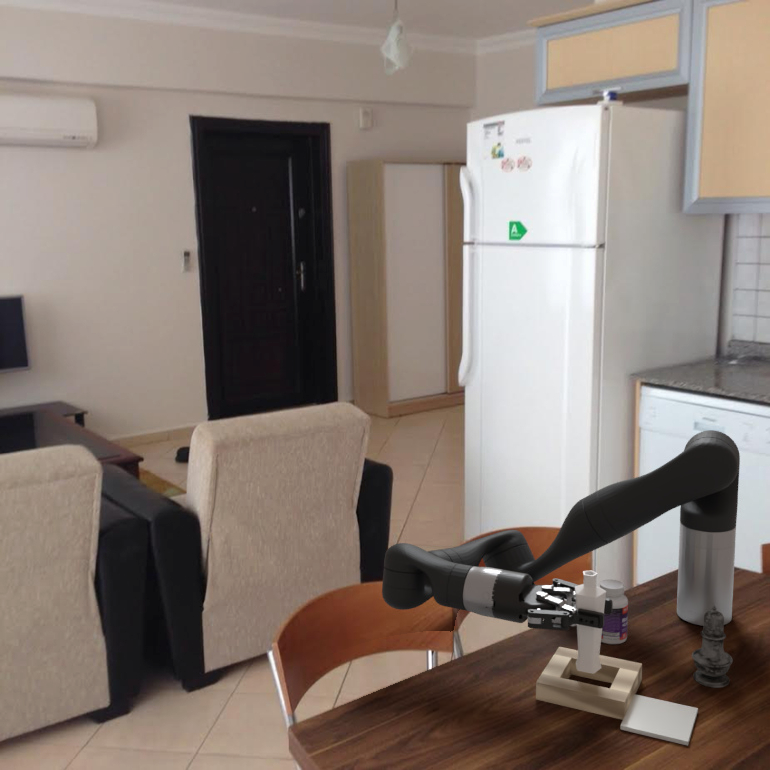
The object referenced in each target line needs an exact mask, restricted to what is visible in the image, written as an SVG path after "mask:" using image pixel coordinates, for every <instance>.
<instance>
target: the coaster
mask: <svg viewBox="0 0 770 770" xmlns="http://www.w3.org/2000/svg"><path fill="white" fill-rule="evenodd" d="M698 713H699V708H698V707H695V706H689V705H685V704H681V703H680V704H679V703H676V702H671V701H667V700H662V699H657V698H654V697H649V696H644V695H640V694H637V693H636V694H634V696H633V698H632V700H631V703H630V705H629V707H628V709H627V712H626V714H625V716H624V719H623V720H622V721H621V723H620V730H621V731H626V732H630V733H634V734H638V735H642V736H646V737H650V738H655V739H659V740H662V741H666V742H670V743H671V742H672V743H674V744H675V743H676V744H680V745H684V746H689V743H690V740H691V737H692V733H693V730H694V726H695V723H696V720H697V715H698Z"/></svg>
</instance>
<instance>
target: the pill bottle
mask: <svg viewBox="0 0 770 770" xmlns="http://www.w3.org/2000/svg"><path fill="white" fill-rule="evenodd" d="M599 587H600V588H602V589H603V590H605V591H606V597H605V598H608V599H611V600H612V602H613V608H612V612H611V614H604V626H603V628H602V636H601V643H603V644H608V645H619V644H623V643H624V642H626V641H627V638H628V621H629V619H628V618H629V599H628V597H627V596H626V595H625V594H624V593H625V583H624V582H622V581H621V580H618V579H604V580H601V581H600V583H599Z"/></svg>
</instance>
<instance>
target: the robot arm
mask: <svg viewBox="0 0 770 770" xmlns="http://www.w3.org/2000/svg"><path fill="white" fill-rule="evenodd" d="M740 457H741V455H740V452H739V448H738V446H737V443H735V441H734V440H733V439H732V438H731V437H730V436H729V435H727V434H725V433H724V432H722V431H719V430H711V429H710V430H703V431H700V432H698V433H696V434H694V435H693V436H692V437H691V438H690V439H689V440H688V441H687V443H686V445H685V447H684V449H683V451H682V452H681V453H679V454H678V455H677V456H675V457H673V458H672V459H670V460H669V461H667V462H666V463H664V464H663V465H661V466H660V467H658V468H656V469H654V470H652V471H651V472H648V473H645V474H643V475H640V476H636V477H633V478H629V479H625V480H621V481H617V482H615V483H612V484H609V485H607V486H604V487H603V488H600V489H598V490H596V491H595V492H593V493H591V494H588V495H587V496H585V497H583V498H581V499H579V501H577V502H576V503H575V504H574V505H573V506H572V507H571V509H570V510H569V512H568V514H567V515H566V517H565V518H564V520H563V522H562V525H561V527H560V528H559V530H558V533H557V534H556V536H555V538H554V540H553V541H552V543H551V544H550V545H549V547H548V548H547V549H546V550H545V551H544V552H542V553H541V554H540V556H539V557H537V558H535V556H534V554H533V551H532V550H531V548H530V545H529V543H528V541H527V539H526V537H525V536H524V534H523V533H522V532H521V531H519V530H517V529H508V530H503V531H498V532H496V533H492V534H489V535H487V536H484V537H480V538H477V539H474V540H472V541H468V542H466V543H463V544H460V545H457V546H453V547H447V548H441V549H434V550H425V549H423V548H421V547H419V546H417V545H414V544H411V543H407V542H400V543H399V542H398V543H395V544H392V545H391V546H390V547H388V549H386V551H385V554H384V560H383V561H384V562H383V572H382V573H383V574H382V586H381V587H382V588H381V593H382V594H381V595H382V598H383V600H384V602H385V604H387V606H389V607H390V608H393V609H395V610H403V611H405V610H412V609H415V608H417V607H419V606H422V605H424V604H426V603H427V602H428V601H429V600H430V599H433V600H434V601H435V603H436V604H438V605H439V606H443V607H446V608H451V609H457V610H461V611H467V612H470V613H473V614H477V615H479V616H483V617H488V618H493V619H496V620H497V619H498V620H504V621H507V622H508V621H509V622H513V623H517V624H523V623H525V622H526V621H527V627H528V628H529V629H537V630H549V631H550V630H551V631H566V632H567V631H569V630H570V627H577V624H579V625H584V626H589V627H595V628H600V629H601V628H603V626H604V614H611V612H612V608H613V602H612V600H611V599H608V598H605V607H604V614H603V613H601V612H596V611H591V610H586V609H580V608H579V609H578V611H577V608H576V598H575V586H578V585H579V584H576V583H573V582H571V581H566V580H564V579H562V578H561V579H560V578H552V584H551V585H549V584H535V583H536V582H537V581H538V580H541V579H542V578H544V577H545V576H548V575H549V574H550V573H552V572H554V571H556V570H558V569H559V568H562V567H563V566H564V565H566V564H568V563H570V562H572V561H574V560H576V559H578V558H580V557H583V556H584V555H587V554H589V553H592V552H593V551H595V550H598V549H599V548H602V547H604V546H607V545H609V544H611V543H613V542H615V541H617V540H619V539H621V538H622V537H623V538H624V536H626V535H629V534H630V533H633V532H634V531H636V530H638V529H639V528H641V527H643V526H645V525H647V524H649V523H650V522H652V521H655V519H658V518H659V517H661V516H662V515H664V514H666V513H668V512H670V511H671V510H673V509H677V507H680V510H679V514H680V516H679V538H678V539H679V543H678V564H677V565H678V566H677V567H678V569H677V570H678V572H677V593H676V594H677V596H676V614H677V616H678V617H679V618H680V619H682V620H683V621H686V622H688V623H690V624H693V625H697V626H704V614H705V613H706V612H707V611H710V610H713V609H712V607H713V606H715V607H716V608H717V609H716V610H717V611H719V612H720V613H722V615H723V616H724V626H725V625H728V624H729V623H731V621H732V618H733V617H732V616H733V598H734V579H735V577H734V576H735V560H736V559H735V557H736V554H735V553H736V538H737V537H736V535H737V533H736V532H737V520H738V519H737V517H738V504H739V503H738V501H739V484H740V482H739V480H740V479H739V478H740V466H741V465H740V462H741V461H740ZM482 560H483V563H484V566H480V563H481V562H482ZM565 600H566V602H565Z"/></svg>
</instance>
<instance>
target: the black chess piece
mask: <svg viewBox="0 0 770 770" xmlns="http://www.w3.org/2000/svg"><path fill="white" fill-rule="evenodd" d="M712 609H713V610H710V611H707V612H706V613H705V614H704V626H703V628H702V629H701V631H700V635H701V636H702V640H701V641H702V642H701V648H700V647H699V648H697V649H695V650H693V651H692V653H691V657H692V659H693V662H694V666H695V667H696V668H695V669H696V671H693V674H692V678H693V680H694V681H695V682H697V683H698V684H699V685H701V686H705V687H709V688H717V689H718V688H724V687H727V686H728V685H729V684H730V681H731V680H730V678H729V676H728V675H726V673H728V671H729V670H730V668H731V665H732V664H733V661H734V660H733V658H732V656H731V655H730V654H729V653H728V652H725V650H724V641H725V639H726V638H727V634H726V633H725V632H724V628H725V627H724V626H725V625H724V616H723V615H722V613H720V612H719V611H717V610H716V609H717V608H716V607H715V606H713V607H712Z"/></svg>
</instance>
